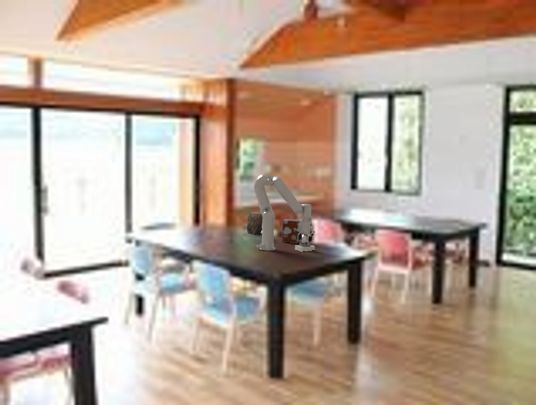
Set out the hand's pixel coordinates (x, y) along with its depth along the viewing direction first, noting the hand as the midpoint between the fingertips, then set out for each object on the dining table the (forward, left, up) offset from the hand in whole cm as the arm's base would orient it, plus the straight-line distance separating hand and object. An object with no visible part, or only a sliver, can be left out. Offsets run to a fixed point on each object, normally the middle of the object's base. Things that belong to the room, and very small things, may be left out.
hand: (305, 240), depth 451 cm
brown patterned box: (+12, +33, -8) cm, 36 cm away
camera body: (0, 0, -8) cm, 8 cm away
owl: (+5, +86, -8) cm, 86 cm away
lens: (0, 0, -4) cm, 4 cm away
